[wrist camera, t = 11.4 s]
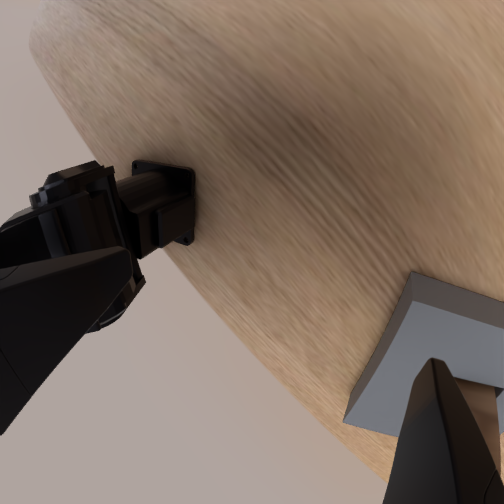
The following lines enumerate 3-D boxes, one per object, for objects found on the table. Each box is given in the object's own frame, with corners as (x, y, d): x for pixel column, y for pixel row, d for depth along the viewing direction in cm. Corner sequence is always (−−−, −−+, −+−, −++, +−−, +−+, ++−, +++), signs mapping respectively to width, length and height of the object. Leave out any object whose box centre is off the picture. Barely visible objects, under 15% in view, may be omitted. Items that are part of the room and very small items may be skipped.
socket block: (350, 393, 25) (342, 422, 22) (411, 271, 18) (412, 300, 15) (480, 424, 20) (480, 450, 17) (562, 324, 13) (574, 351, 10)
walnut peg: (427, 372, 21) (414, 502, 11) (444, 348, 19) (441, 487, 9) (471, 383, 19) (471, 505, 9) (489, 360, 18) (499, 489, 8)
